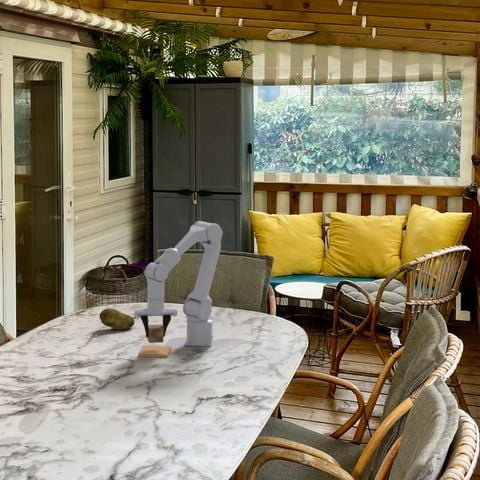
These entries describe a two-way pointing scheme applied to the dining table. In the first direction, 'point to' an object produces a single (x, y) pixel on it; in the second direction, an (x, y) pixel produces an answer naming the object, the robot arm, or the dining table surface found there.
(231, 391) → the dining table surface
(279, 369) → the dining table surface
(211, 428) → the dining table surface
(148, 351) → the terracotta tile
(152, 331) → the walnut cube
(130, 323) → the olive green oval piece
